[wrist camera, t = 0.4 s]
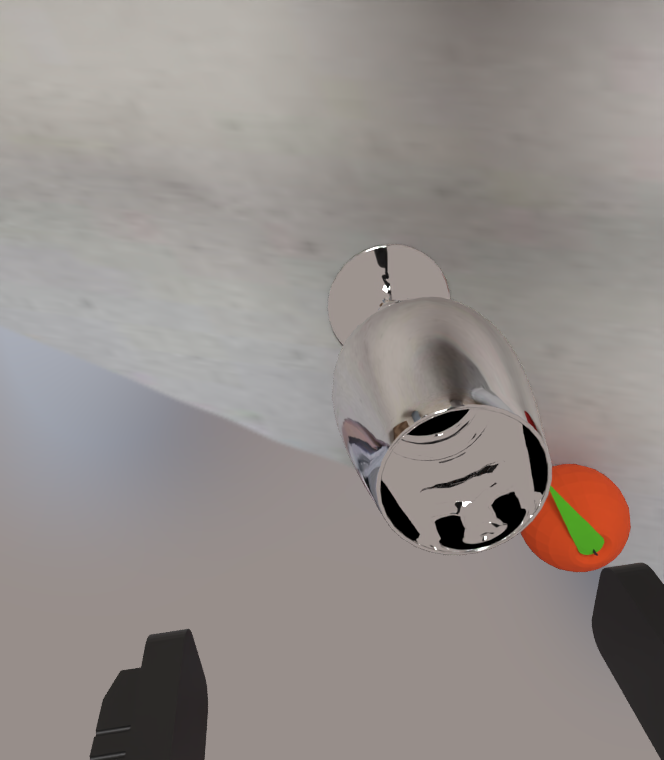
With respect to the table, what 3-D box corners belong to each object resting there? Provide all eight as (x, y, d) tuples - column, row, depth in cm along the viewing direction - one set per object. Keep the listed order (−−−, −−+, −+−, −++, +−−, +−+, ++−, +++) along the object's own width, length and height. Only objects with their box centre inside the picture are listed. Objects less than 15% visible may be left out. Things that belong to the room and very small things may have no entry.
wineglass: (341, 376, 39) (369, 604, 20) (311, 259, 36) (310, 404, 17) (461, 347, 38) (598, 556, 20) (440, 226, 35) (580, 340, 17)
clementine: (477, 470, 42) (508, 535, 35) (565, 415, 40) (613, 472, 34) (534, 543, 45) (572, 615, 38) (618, 494, 43) (673, 560, 37)
